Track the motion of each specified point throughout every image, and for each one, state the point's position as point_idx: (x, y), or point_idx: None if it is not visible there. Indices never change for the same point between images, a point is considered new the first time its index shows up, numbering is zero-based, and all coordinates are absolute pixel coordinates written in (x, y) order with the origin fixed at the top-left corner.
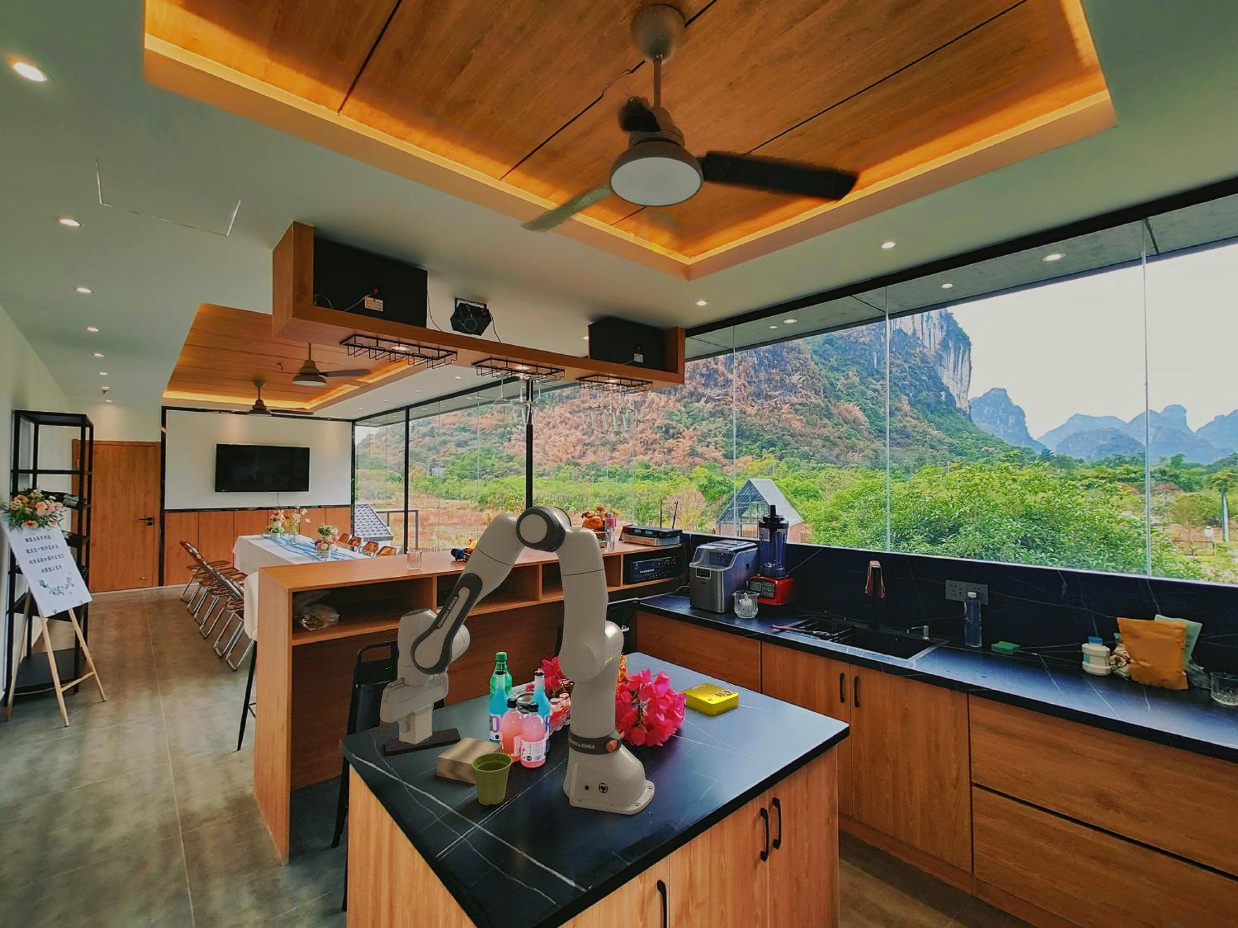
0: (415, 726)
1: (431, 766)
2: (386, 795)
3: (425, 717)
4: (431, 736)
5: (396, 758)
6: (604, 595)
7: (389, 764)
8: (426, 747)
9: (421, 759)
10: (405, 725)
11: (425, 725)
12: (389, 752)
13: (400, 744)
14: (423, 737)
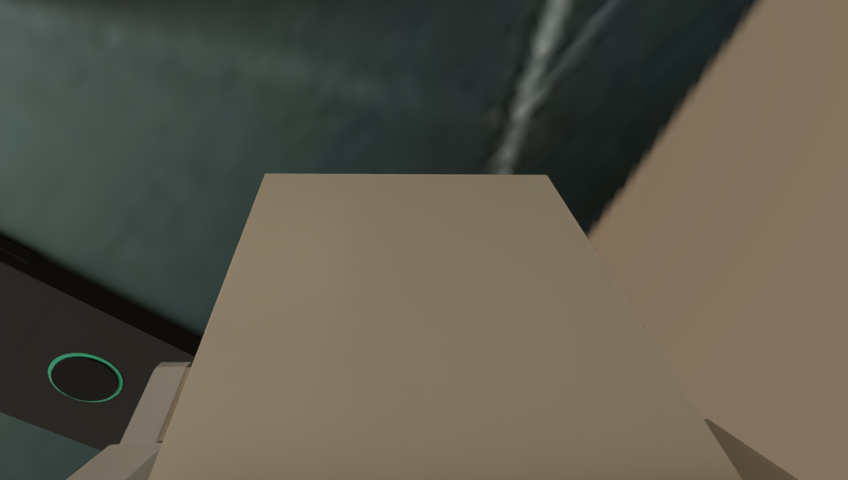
0: (635, 319)
1: (273, 98)
2: (691, 93)
3: (393, 382)
4: (16, 365)
5: None
6: None
7: None
8: (121, 304)
9: (243, 228)
10: (719, 434)
11: (382, 276)
12: None
13: None
14: (417, 187)
